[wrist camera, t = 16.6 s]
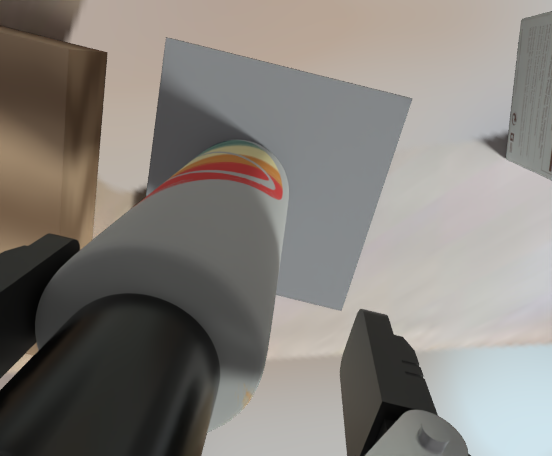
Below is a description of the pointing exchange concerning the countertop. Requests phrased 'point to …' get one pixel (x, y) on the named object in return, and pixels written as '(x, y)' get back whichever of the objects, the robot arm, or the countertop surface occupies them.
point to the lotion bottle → (157, 318)
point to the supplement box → (532, 98)
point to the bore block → (48, 138)
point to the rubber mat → (286, 151)
